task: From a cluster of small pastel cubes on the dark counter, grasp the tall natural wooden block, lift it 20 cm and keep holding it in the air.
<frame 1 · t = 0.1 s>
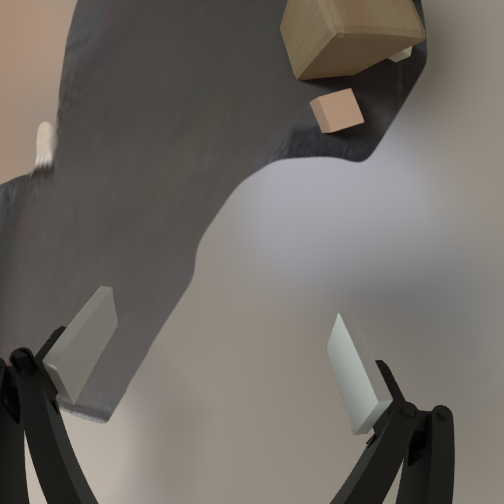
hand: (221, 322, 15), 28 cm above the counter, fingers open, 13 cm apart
cube tan: (330, 112, 35), on the counter
wooden block: (318, 50, 32), on the counter
cube cream: (385, 44, 30), on the counter
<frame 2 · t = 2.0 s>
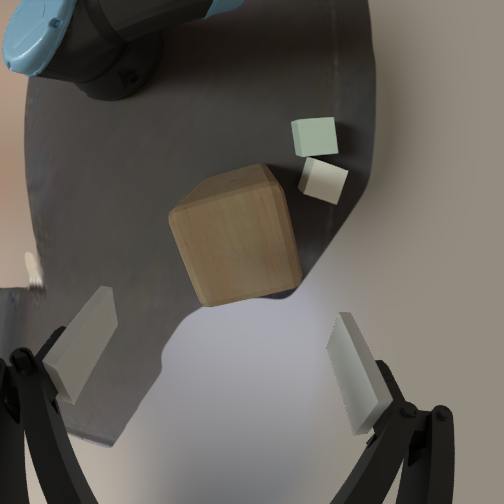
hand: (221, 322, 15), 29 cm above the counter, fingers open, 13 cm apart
wooden block: (242, 200, 42), on the counter
cube sage: (309, 136, 38), on the counter
cube cream: (317, 177, 40), on the counter
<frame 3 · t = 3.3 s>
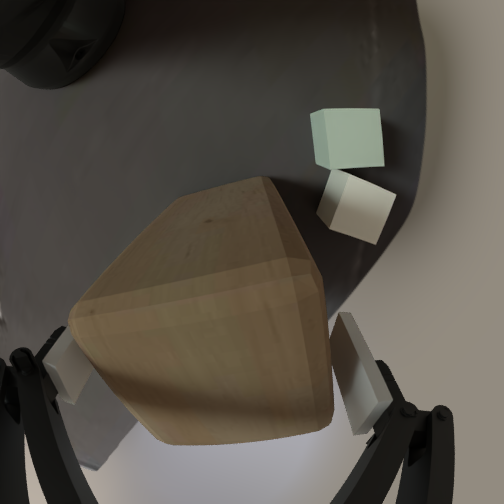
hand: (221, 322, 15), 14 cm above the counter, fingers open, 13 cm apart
wooden block: (232, 231, 28), on the counter
cube sage: (337, 137, 24), on the counter
cube cream: (345, 198, 27), on the counter
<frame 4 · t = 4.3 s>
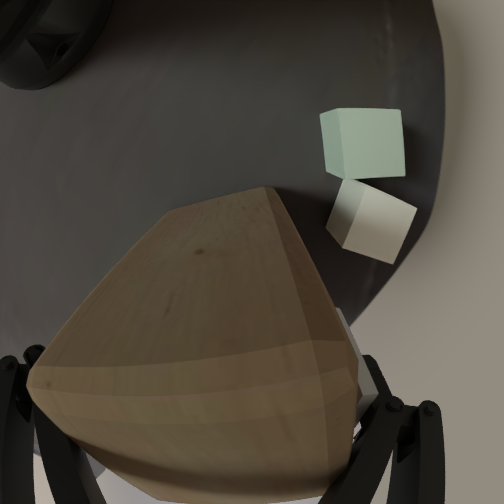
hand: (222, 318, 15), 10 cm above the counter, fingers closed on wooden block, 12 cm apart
wooden block: (232, 247, 25), on the counter, touching gripper
cube sage: (350, 141, 21), on the counter
cube cream: (358, 210, 24), on the counter
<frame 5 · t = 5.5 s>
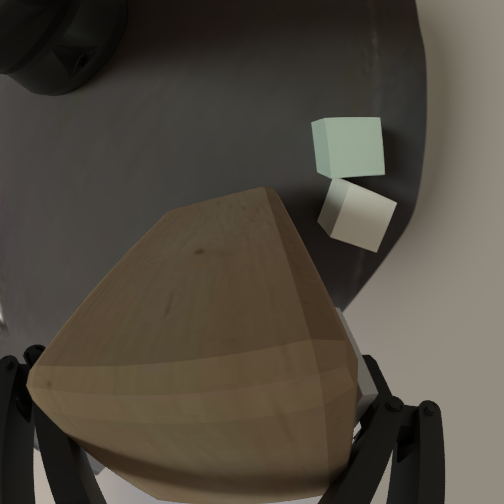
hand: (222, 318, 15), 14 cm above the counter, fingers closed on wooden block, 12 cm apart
wooden block: (232, 247, 25), point 3 cm above the counter, touching gripper
cube sage: (338, 145, 25), on the counter
cube cream: (346, 206, 27), on the counter
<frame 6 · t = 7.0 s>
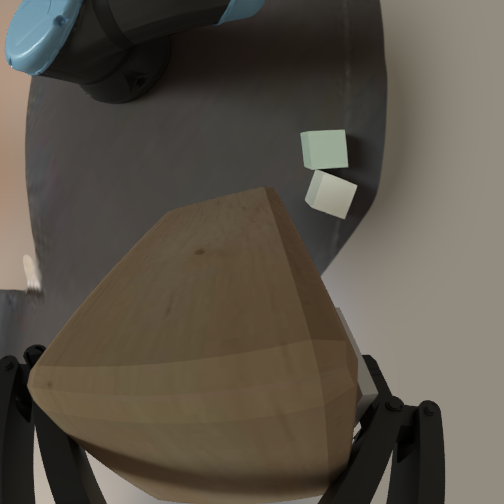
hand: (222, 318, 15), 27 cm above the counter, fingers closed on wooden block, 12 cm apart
wooden block: (232, 248, 25), point 16 cm above the counter, touching gripper
cube sage: (319, 148, 37), on the counter
cube cream: (325, 190, 40), on the counter
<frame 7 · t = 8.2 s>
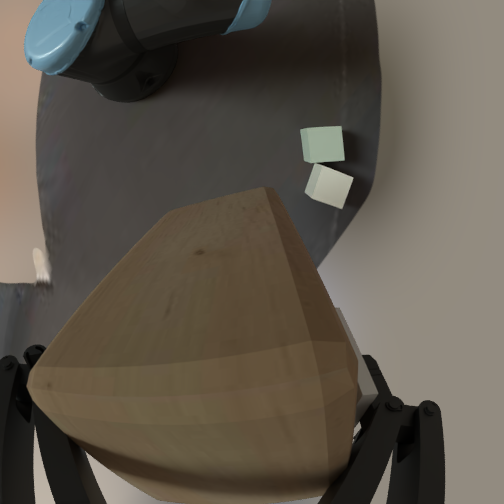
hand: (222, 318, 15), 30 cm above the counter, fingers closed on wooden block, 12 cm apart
wooden block: (232, 248, 25), point 20 cm above the counter, touching gripper
cube sage: (317, 143, 40), on the counter
cube cream: (323, 182, 42), on the counter
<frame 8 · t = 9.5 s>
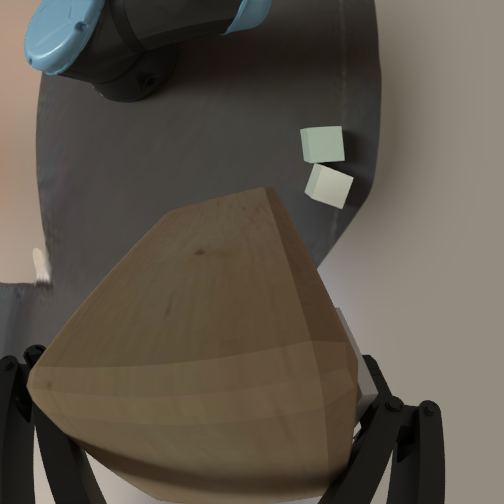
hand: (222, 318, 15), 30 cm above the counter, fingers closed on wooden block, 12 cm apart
wooden block: (232, 248, 25), point 20 cm above the counter, touching gripper
cube sage: (317, 143, 40), on the counter
cube cream: (323, 182, 42), on the counter
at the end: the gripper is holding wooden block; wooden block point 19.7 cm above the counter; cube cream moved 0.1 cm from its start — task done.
